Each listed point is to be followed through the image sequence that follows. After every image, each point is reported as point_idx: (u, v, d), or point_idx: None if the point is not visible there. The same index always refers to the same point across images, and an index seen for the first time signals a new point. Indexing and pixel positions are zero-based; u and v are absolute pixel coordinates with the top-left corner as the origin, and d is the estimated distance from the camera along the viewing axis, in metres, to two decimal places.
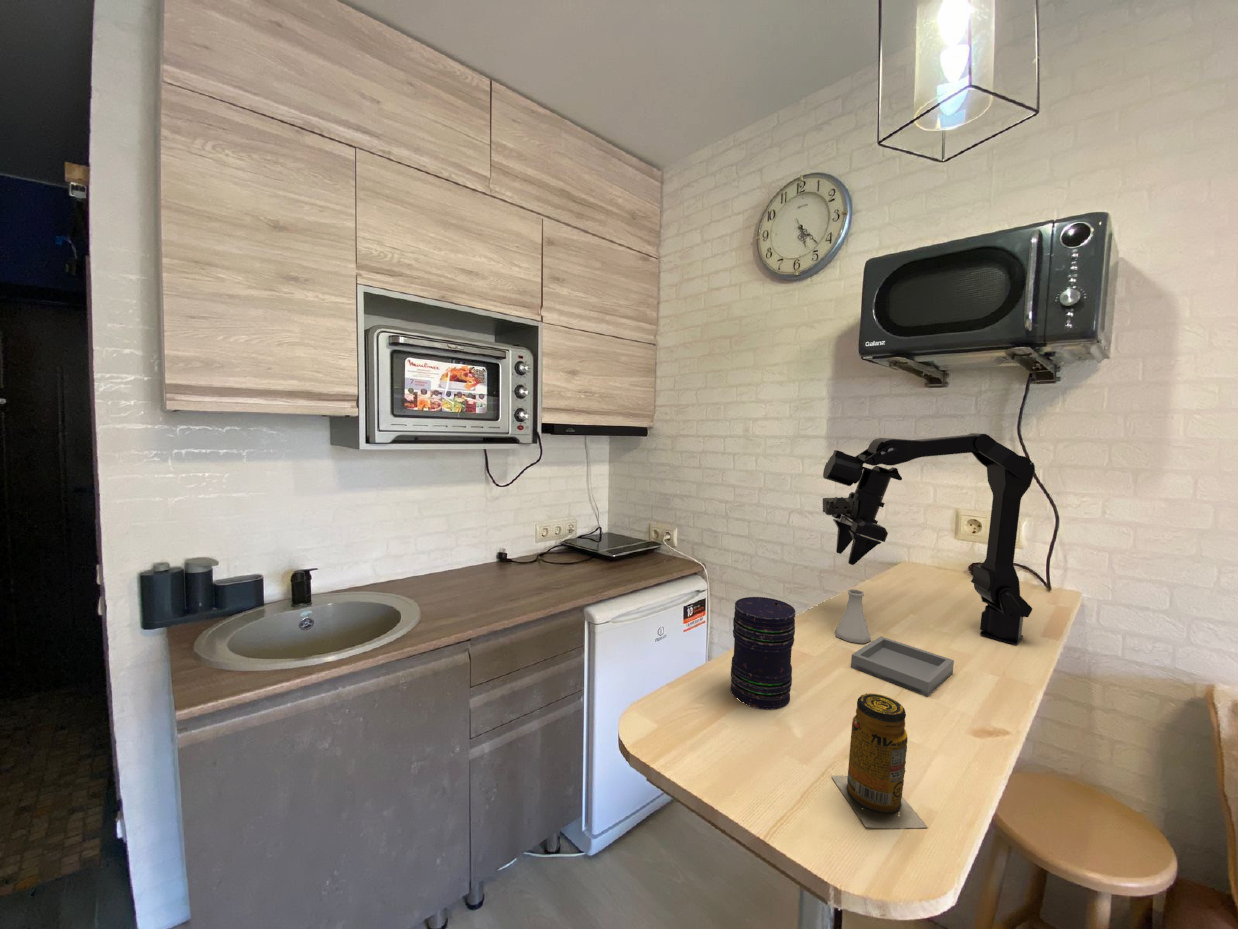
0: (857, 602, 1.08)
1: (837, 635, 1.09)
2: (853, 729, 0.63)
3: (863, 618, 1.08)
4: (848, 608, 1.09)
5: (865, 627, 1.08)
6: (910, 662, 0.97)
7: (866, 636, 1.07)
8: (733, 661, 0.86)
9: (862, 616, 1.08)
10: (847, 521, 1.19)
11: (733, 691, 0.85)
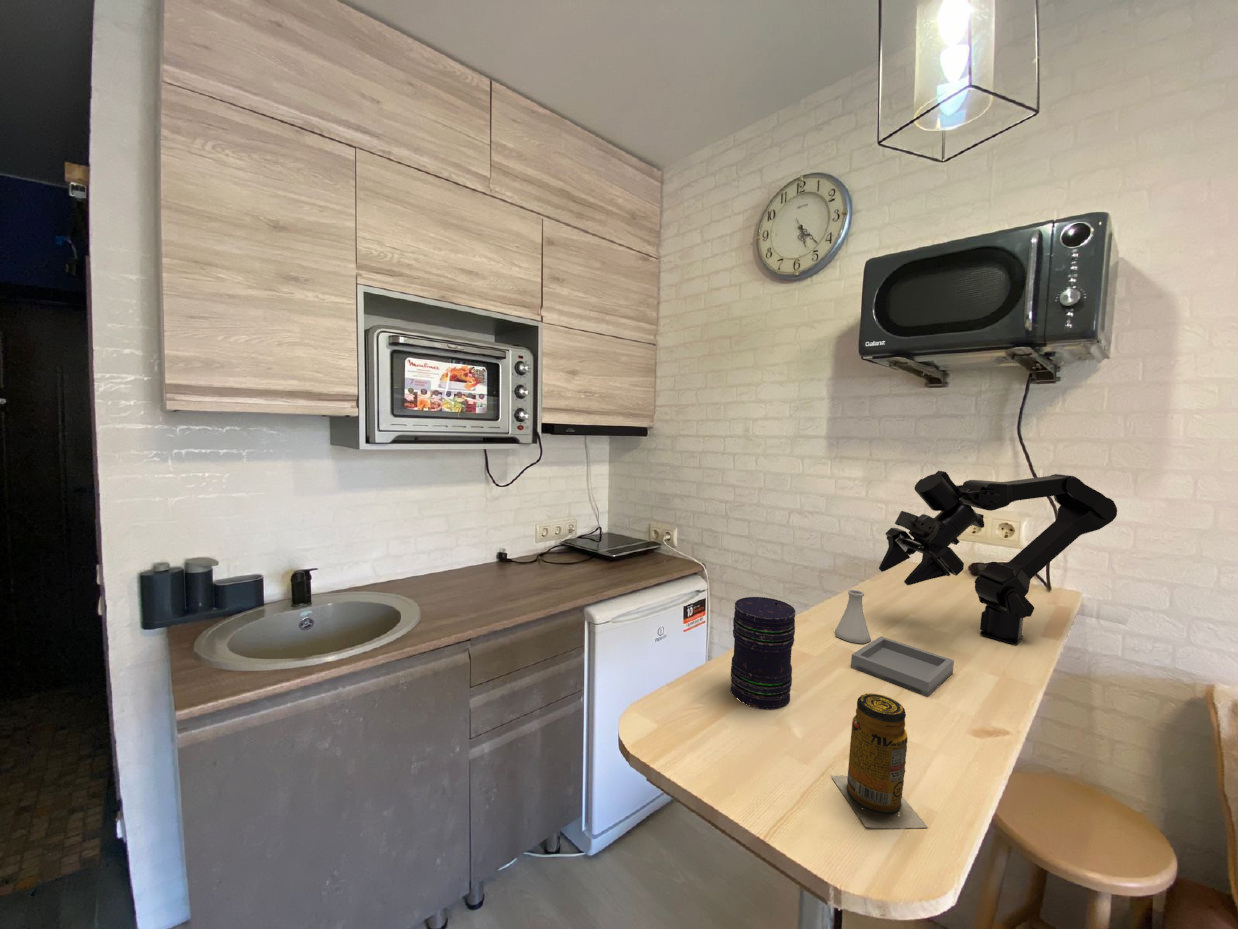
0: (857, 602, 1.08)
1: (837, 635, 1.09)
2: (853, 729, 0.63)
3: (863, 618, 1.08)
4: (848, 608, 1.09)
5: (865, 627, 1.08)
6: (910, 662, 0.97)
7: (866, 636, 1.07)
8: (733, 661, 0.86)
9: (862, 616, 1.08)
10: (902, 544, 1.14)
11: (733, 691, 0.85)
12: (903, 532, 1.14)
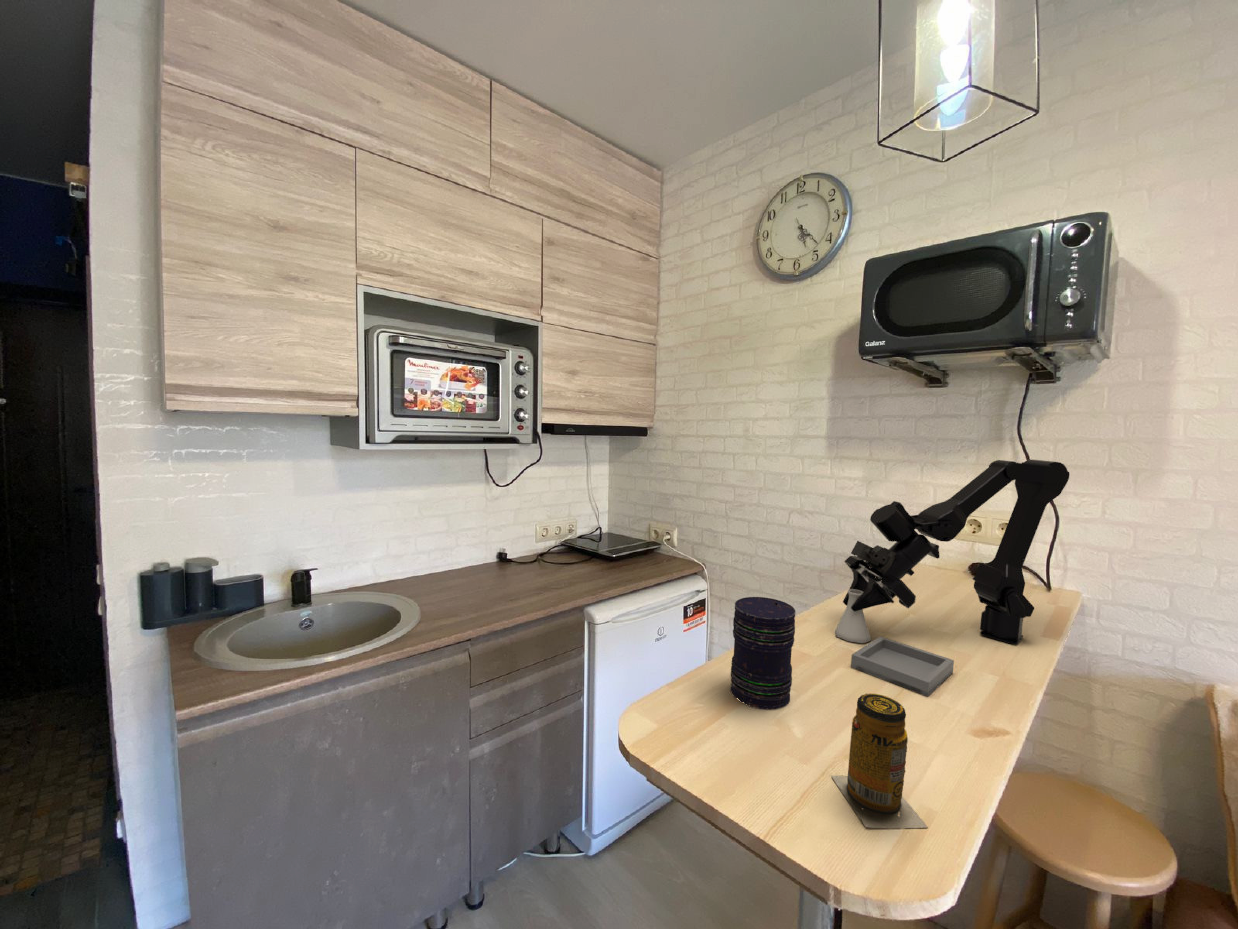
0: None
1: (837, 635, 1.09)
2: (853, 729, 0.63)
3: (863, 618, 1.08)
4: (848, 608, 1.09)
5: (865, 627, 1.08)
6: (910, 662, 0.97)
7: (866, 636, 1.07)
8: (733, 661, 0.86)
9: (862, 616, 1.08)
10: (867, 577, 1.11)
11: (733, 691, 0.85)
12: (861, 561, 1.14)
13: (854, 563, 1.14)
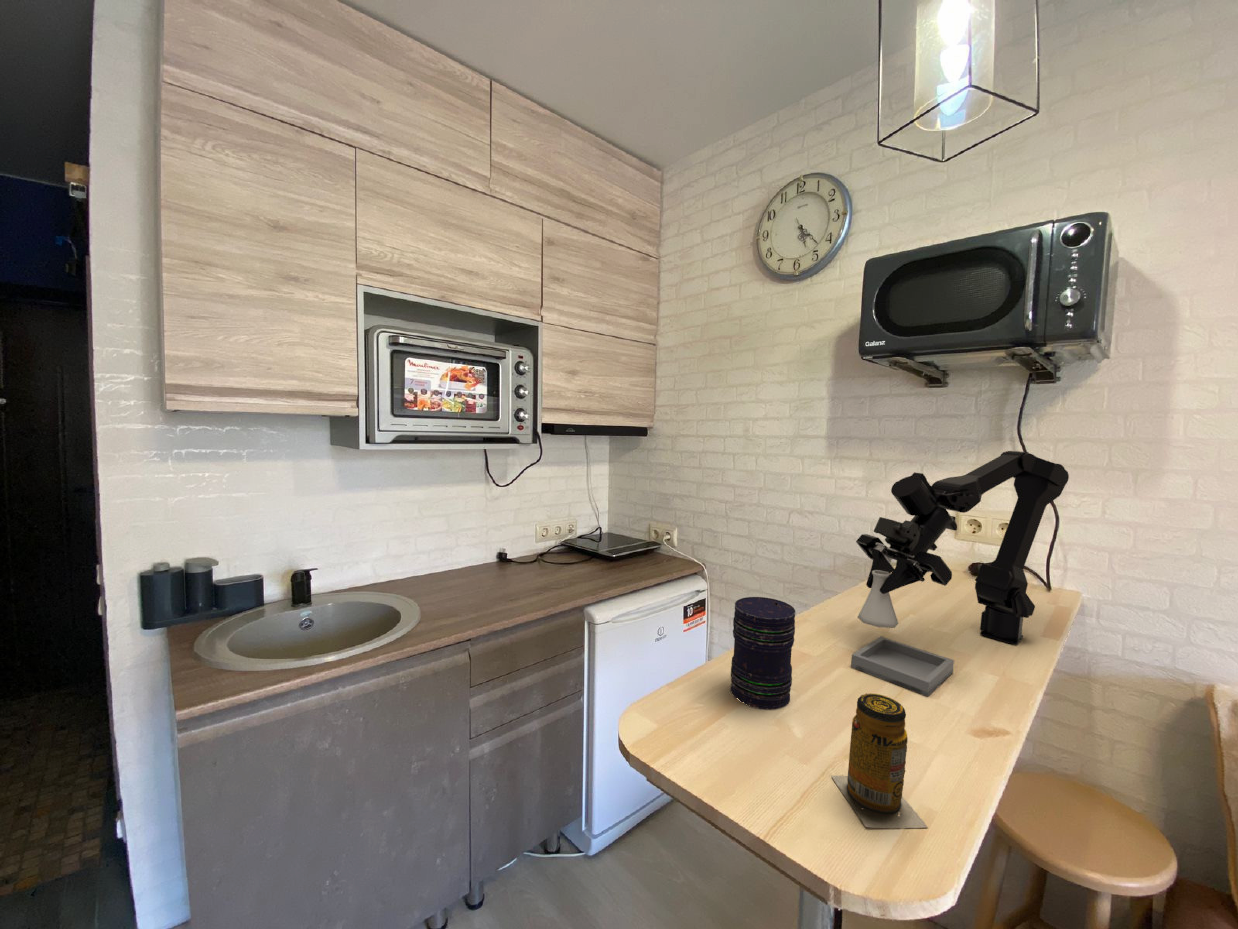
0: None
1: (864, 621, 1.00)
2: (853, 729, 0.63)
3: (890, 600, 1.00)
4: (874, 591, 1.00)
5: (893, 610, 0.99)
6: (910, 662, 0.97)
7: (895, 620, 0.99)
8: (733, 661, 0.86)
9: (889, 598, 1.00)
10: (887, 556, 1.03)
11: (733, 691, 0.85)
12: (876, 539, 1.06)
13: (870, 542, 1.06)
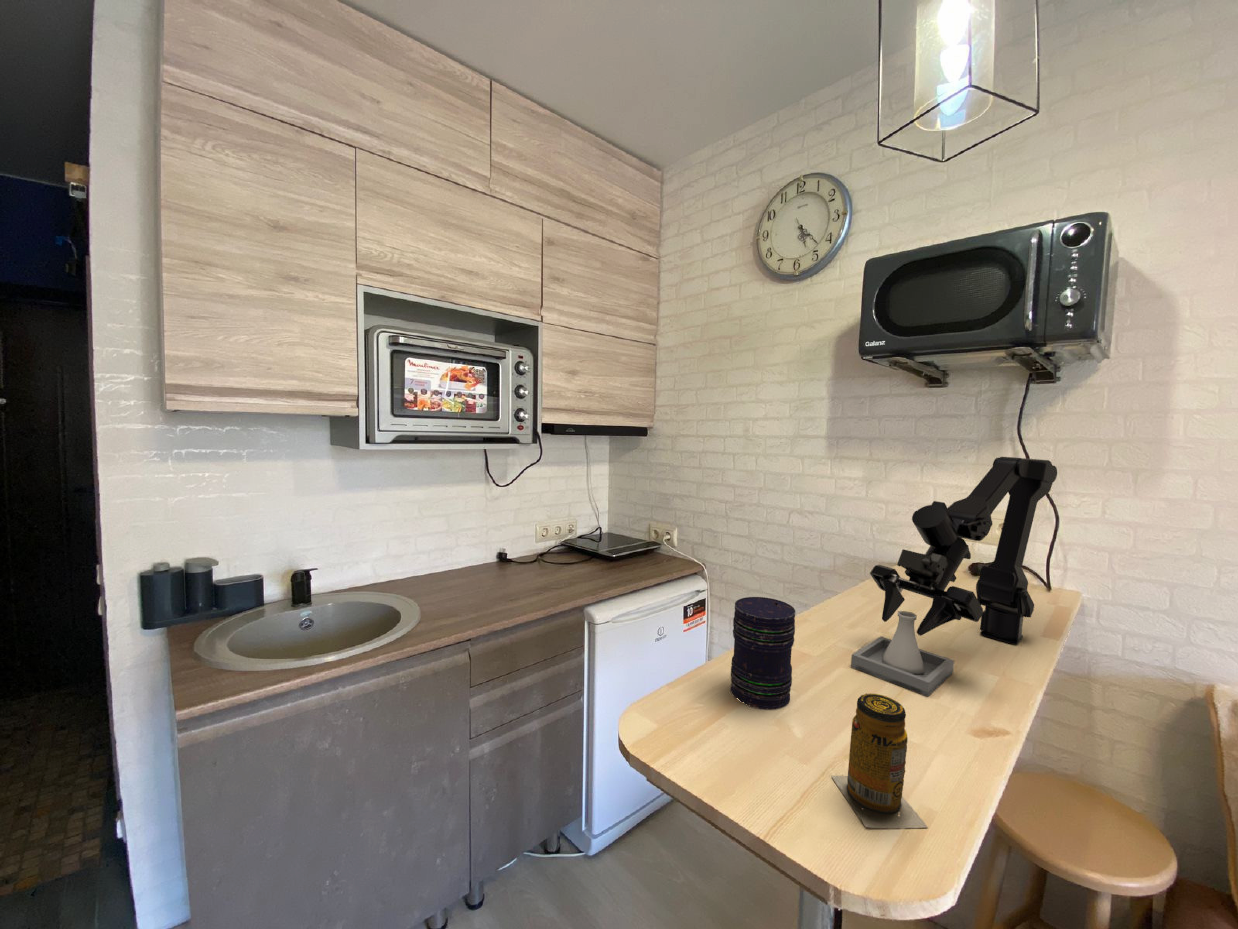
0: (912, 626, 0.94)
1: None
2: (853, 729, 0.63)
3: None
4: (902, 634, 0.94)
5: (919, 653, 0.94)
6: None
7: (922, 664, 0.94)
8: (733, 661, 0.86)
9: (916, 641, 0.94)
10: (899, 586, 1.00)
11: (733, 691, 0.85)
12: (893, 571, 1.01)
13: (888, 574, 1.00)
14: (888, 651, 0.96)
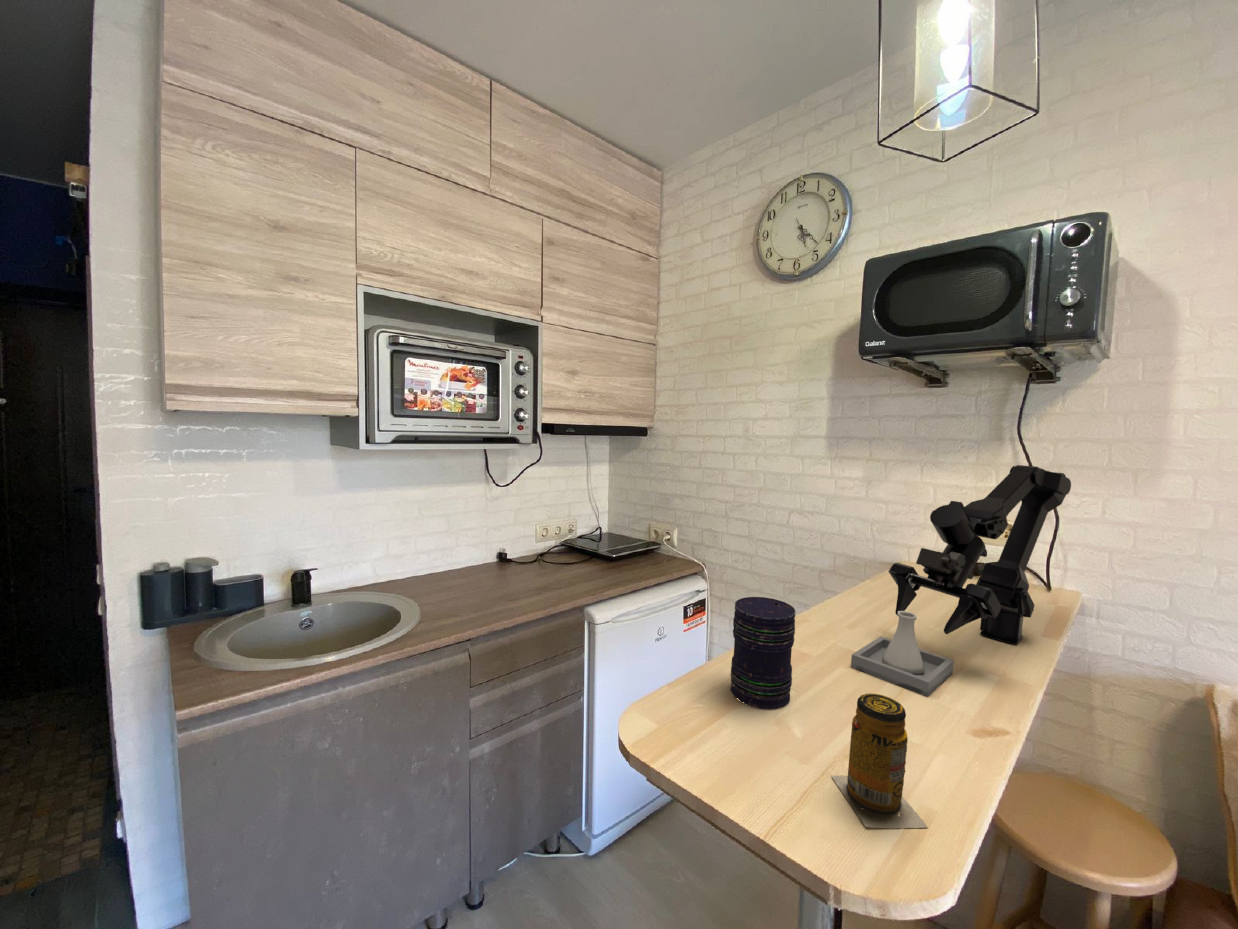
0: (912, 626, 0.94)
1: None
2: (853, 729, 0.63)
3: None
4: (902, 634, 0.94)
5: (919, 653, 0.94)
6: None
7: (922, 664, 0.94)
8: (733, 661, 0.86)
9: (916, 641, 0.94)
10: (911, 582, 1.03)
11: (733, 691, 0.85)
12: (912, 568, 1.03)
13: (906, 572, 1.03)
14: (888, 651, 0.96)
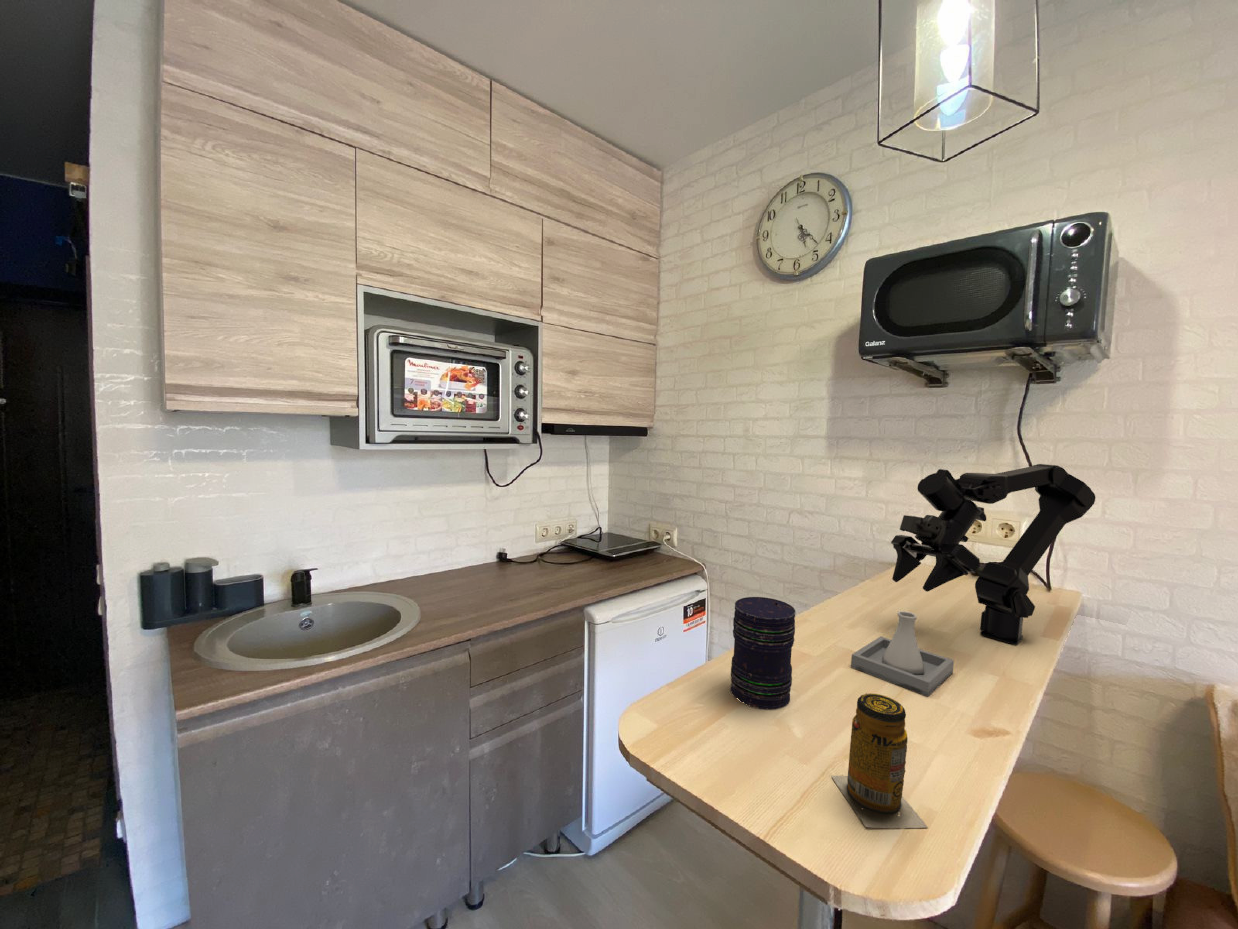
0: (912, 626, 0.94)
1: None
2: (853, 729, 0.63)
3: None
4: (902, 634, 0.94)
5: (919, 653, 0.94)
6: None
7: (922, 664, 0.94)
8: (733, 661, 0.86)
9: (916, 641, 0.94)
10: (911, 550, 1.10)
11: (733, 691, 0.85)
12: (909, 538, 1.10)
13: (903, 541, 1.10)
14: (888, 651, 0.96)
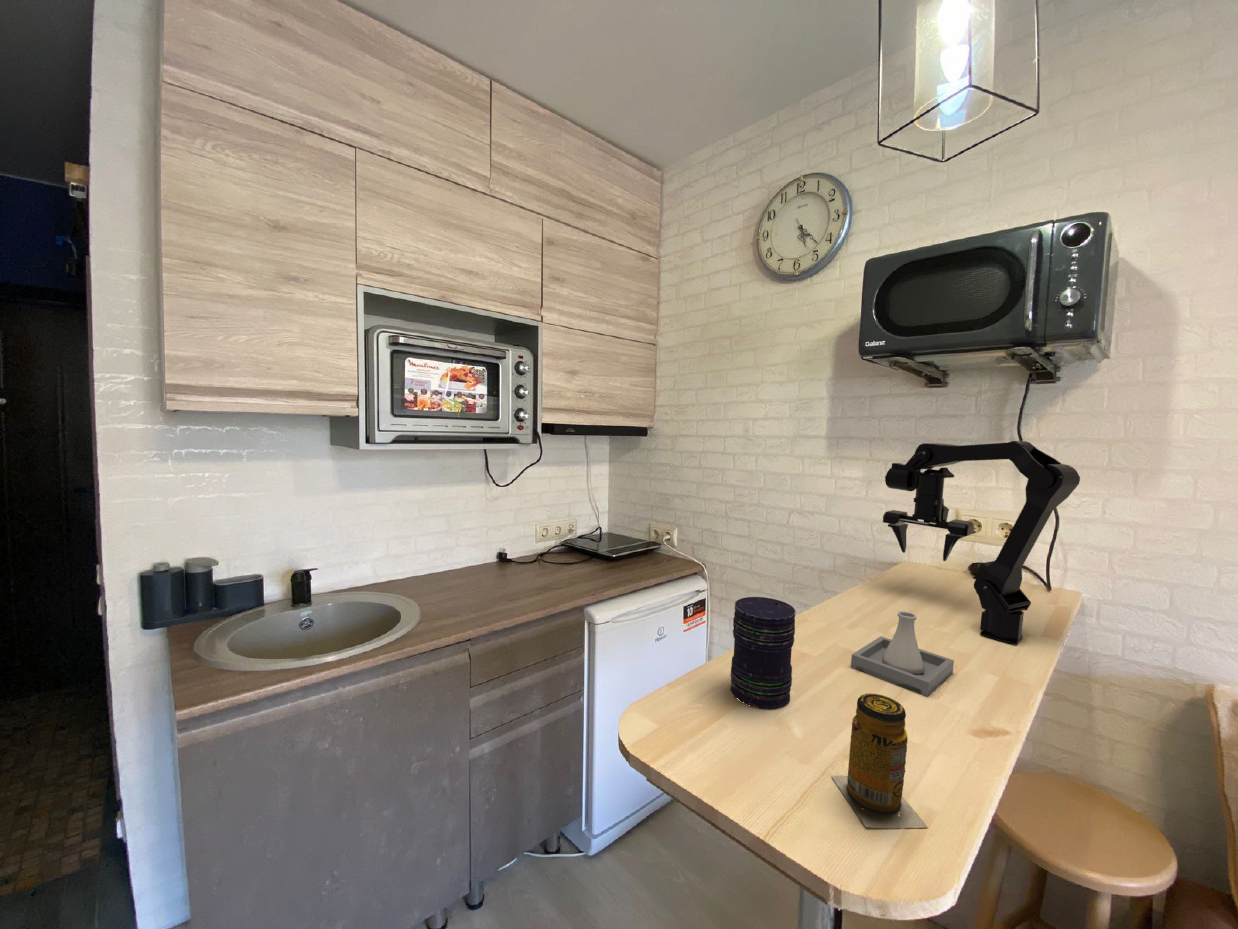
0: (912, 626, 0.94)
1: None
2: (853, 729, 0.63)
3: None
4: (902, 634, 0.94)
5: (919, 653, 0.94)
6: None
7: (922, 663, 0.94)
8: (733, 661, 0.86)
9: (916, 641, 0.94)
10: None
11: (733, 691, 0.85)
12: None
13: None
14: (888, 651, 0.96)
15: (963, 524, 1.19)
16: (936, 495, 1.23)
